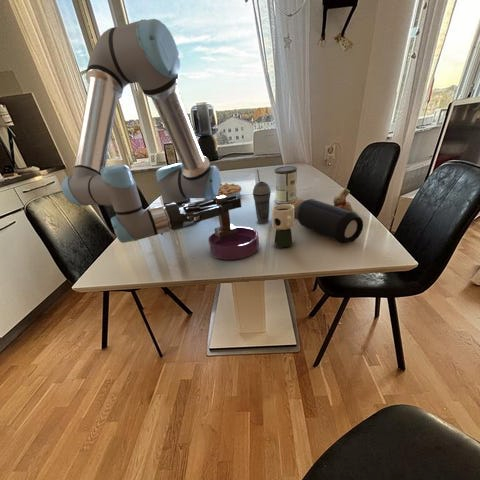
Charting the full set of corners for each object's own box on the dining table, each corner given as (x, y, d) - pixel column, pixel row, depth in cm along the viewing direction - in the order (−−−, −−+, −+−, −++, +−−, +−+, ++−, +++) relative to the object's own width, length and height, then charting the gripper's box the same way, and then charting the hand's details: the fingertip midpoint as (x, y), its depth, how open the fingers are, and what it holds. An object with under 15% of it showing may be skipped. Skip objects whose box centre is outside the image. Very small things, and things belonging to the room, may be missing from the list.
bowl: (201, 255, 99) (198, 242, 96) (230, 237, 109) (228, 224, 106) (240, 265, 90) (238, 250, 87) (268, 244, 101) (267, 230, 97)
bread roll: (293, 227, 119) (299, 212, 113) (281, 211, 123) (285, 196, 116) (312, 221, 123) (318, 206, 116) (299, 206, 126) (305, 190, 119)
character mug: (267, 242, 102) (266, 205, 94) (285, 237, 104) (285, 201, 95) (280, 253, 94) (280, 214, 86) (300, 248, 95) (301, 209, 87)
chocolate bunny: (332, 210, 121) (335, 185, 115) (352, 209, 119) (355, 184, 113) (332, 214, 117) (334, 189, 111) (352, 214, 115) (355, 188, 108)
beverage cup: (270, 224, 115) (269, 170, 102) (253, 225, 117) (249, 172, 104) (272, 218, 120) (271, 166, 108) (255, 219, 122) (252, 167, 110)
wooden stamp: (220, 240, 93) (213, 200, 85) (215, 235, 96) (209, 197, 88) (237, 235, 94) (233, 196, 87) (232, 230, 98) (228, 193, 90)
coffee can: (280, 196, 144) (280, 165, 135) (299, 197, 139) (300, 166, 130) (271, 202, 138) (270, 171, 129) (290, 204, 133) (291, 171, 124)
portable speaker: (362, 241, 95) (367, 211, 89) (339, 249, 92) (343, 218, 86) (314, 221, 113) (315, 195, 107) (293, 227, 110) (294, 200, 104)
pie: (197, 196, 160) (195, 187, 157) (232, 188, 166) (231, 179, 163) (210, 206, 144) (209, 195, 141) (248, 196, 150) (248, 186, 146)
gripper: (165, 223, 93) (230, 207, 99) (176, 239, 81) (249, 219, 87) (158, 199, 88) (227, 184, 94) (170, 212, 76) (247, 194, 82)
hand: (238, 201), depth 90 cm, fingers closed on wooden stamp, 3 cm apart
